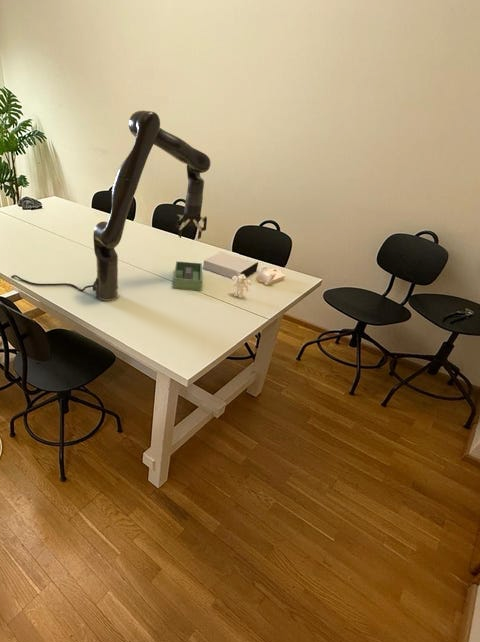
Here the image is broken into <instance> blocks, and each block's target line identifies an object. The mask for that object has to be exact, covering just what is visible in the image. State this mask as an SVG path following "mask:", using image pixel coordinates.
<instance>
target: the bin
mask: <svg viewBox="0 0 480 642" xmlns="http://www.w3.org/2000/svg"><path fill="white" fill-rule="evenodd" d="M184 266H186V267H193V280H192V279H183V272H184ZM202 284H203V264H202V263H201V262H189V261H175V268H174V277H173V284H172V285H173V286H172V289H179V290H190V291H200V292H201V291H202V286H203V285H202Z"/></svg>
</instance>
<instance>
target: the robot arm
mask: <svg viewBox="0 0 480 642" xmlns="http://www.w3.org/2000/svg"><path fill="white" fill-rule="evenodd" d="M128 129H129V132H130V134H131V135H132V136H133V137H134V138H135V140H134V142H133V146H132V148H131V150H130V152H129V153H128V155H127V157H126V158H125V159H124V161H122V162H121V164H120V166H119V168H118V169H117V172H116V175H115V177H114V180H113V184H112V189H111V211H110V214H109V215H110V216H109V217H108V221H105V220H104V221H99V222H98V223H97V224H96V225H95V227H94V229H93V237H92V238H93V251H94V255H95V259H96V260H95V261H96V278H95V280H94V282H93V284H91V285H86V286H84V287H82V288H79V287H77V285H75V284H72V283H68V282H66V283H65V282H64V283H63V282H62V283H59V282H58V283H38V282H32V281H29V280H26V279H24V278H21V276H19V275H16V274H13V275H12V276H11V278H17V279H18V280H20V281H22V282H25V283H27V284H30V285H35V286H71V287H73V288H74V289H76V290H78V291H80V292H84V291H85V290H86V289H88V288H92V291H93V292H95V294H96V295H95V296H96V297H95V298H96V299H99V300H101V301H104V302H110V301H114V300H116V299H117V298H118V296H119V295H118V293H119V291H118V289H119V286H118V285H119V283H118V280H119V279H118V277H119V274H118V273H119V272H118V271H119V270H118V269H119V255H118V253H117V251H116V249H115V248H116V247H117V246H118V245H119V244H120V242H121V240H122V237H123V233H124V230H125V225H126V221H127V217H128V215H129V213H130V212H129V211H130V208H131V206H132V203H133V199H134V197H135V194H136V192H137V189H138V186H139V183H140V179H141V178H142V173H143V171H144V169H145V166H146V163H147V160H148V157H149V154H150V153H151V151H152V148H153V146H155V147H157V148H159V149H160V150H162V151H163V152H165V153H166V154H168V155H169V156H171V157H172V158H174V159H175V160H177V161H179V162H180V163H182V164H185V165H186V175H187V189H186V195H185V201H184V202H185V203H184V211H183V212H184V213H183V214H182V215H181V214H176V220H175V226H174V228H175V229H177V230H178V238H179V239H182V232H183V229H184V228H185V227H186V226H187V227H190V226H191V227H196V228H197V230H198V233H197V240H200V239H201V238H202V233H203V232H205V231H207V221H208V216H206V215H205V216H201V214H202V208H203V199H204V187H205V180H204V178H202V176H201V174H205V173H206V172H208V171H209V170H210V168H211V163H212V162H211V158H210V157H209V156H208V155H207V154H206V153H205V152H202V151H200V150H198V149H196V148H195V147H194V146H192V145H191V144H190V143H188V142H186V141H185V140H184V139H182V138H180V137H178V136H177V135H175V134H173V133H170V132H169V131H167V130H165V129H163V128H161V119H160V117H159V115H158V114H157V113H156V112H155V111H151V110H137V111H135V112H134V113H132V115H130V117H129V119H128ZM181 220H182V221H183V222H182V223H181V225H180V224H179V223H180V221H181ZM200 221H201V222H202V223H203V227H202V226H201V224H200Z"/></svg>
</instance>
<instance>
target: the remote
mask: <svg viewBox="0 0 480 642" xmlns="http://www.w3.org/2000/svg"><path fill="white" fill-rule="evenodd" d="M183 279H192V280H193V267H186V266H184V272H183Z"/></svg>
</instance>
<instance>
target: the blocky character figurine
mask: <svg viewBox="0 0 480 642" xmlns="http://www.w3.org/2000/svg"><path fill="white" fill-rule="evenodd" d="M237 274H238V275H240V274H241V273H239V272H237ZM231 281H232V282H233V283H232V285H231V287H232V288H234V287H235V292H234V294H233V297H236V298H237V297H238V298H239V299H243V297H244V289H245V291H246V293H248V292H249V290H250V289H249V288H248V286H249V285H252V280H251V279H247V278H246V277H245V275H244V274H241V275H240V276H238V278H237V276H236V275H235V276H233V278H231Z"/></svg>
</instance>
